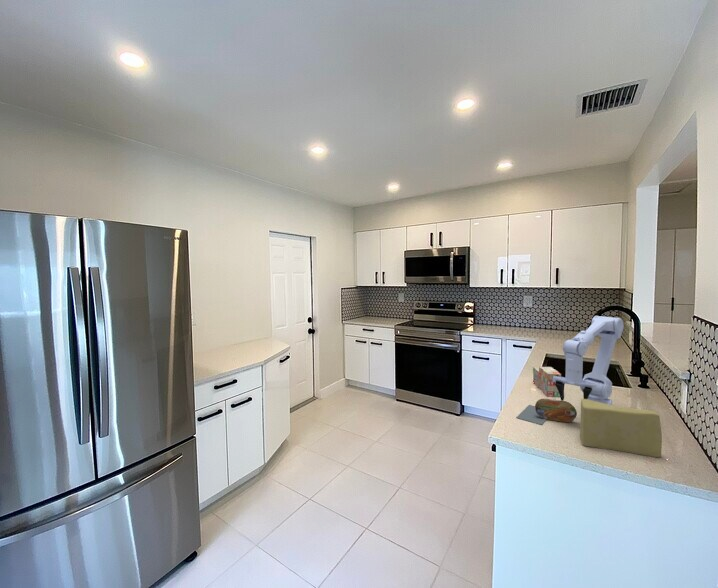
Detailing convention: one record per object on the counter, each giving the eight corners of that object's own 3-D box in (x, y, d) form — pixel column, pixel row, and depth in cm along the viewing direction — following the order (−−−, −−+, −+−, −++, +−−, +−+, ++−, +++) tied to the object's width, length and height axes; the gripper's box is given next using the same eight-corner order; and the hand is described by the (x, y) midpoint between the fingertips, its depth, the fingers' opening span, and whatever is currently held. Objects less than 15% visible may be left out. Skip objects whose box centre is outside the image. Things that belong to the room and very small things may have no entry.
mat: (553, 411, 143) (553, 410, 143) (542, 425, 130) (542, 424, 130) (528, 405, 150) (529, 404, 150) (516, 418, 137) (516, 417, 137)
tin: (534, 417, 136) (536, 398, 135) (533, 414, 139) (535, 395, 138) (576, 424, 130) (577, 404, 130) (574, 420, 133) (575, 401, 133)
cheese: (656, 450, 111) (658, 408, 110) (665, 464, 102) (666, 419, 101) (579, 434, 122) (580, 396, 121) (581, 446, 114) (582, 405, 113)
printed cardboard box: (532, 383, 181) (533, 361, 180) (544, 383, 179) (545, 362, 179) (547, 397, 160) (547, 373, 159) (560, 397, 159) (561, 373, 158)
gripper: (550, 368, 131) (550, 400, 132) (594, 375, 121) (593, 410, 121) (555, 364, 136) (555, 395, 137) (597, 371, 126) (596, 405, 126)
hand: (573, 402), depth 129 cm, fingers open, 7 cm apart
